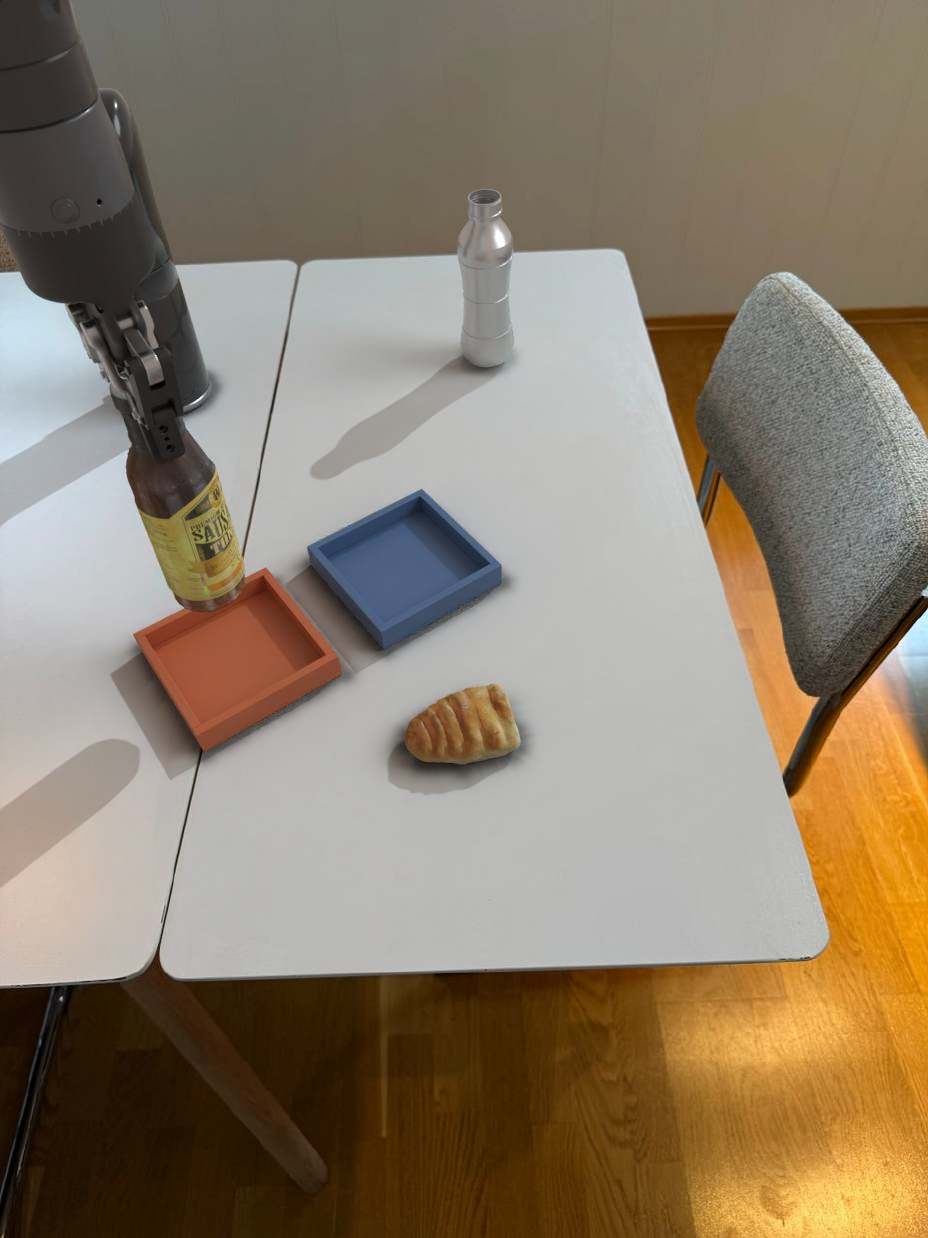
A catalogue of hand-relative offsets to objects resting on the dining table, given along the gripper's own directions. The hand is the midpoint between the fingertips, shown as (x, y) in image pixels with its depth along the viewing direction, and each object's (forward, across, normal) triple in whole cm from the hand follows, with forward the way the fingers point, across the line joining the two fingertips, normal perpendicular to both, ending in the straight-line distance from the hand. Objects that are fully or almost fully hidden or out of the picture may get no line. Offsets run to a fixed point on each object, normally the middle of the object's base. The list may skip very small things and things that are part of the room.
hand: (156, 439), depth 62 cm
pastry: (+26, -19, -12) cm, 34 cm away
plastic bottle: (+26, +24, -46) cm, 58 cm away
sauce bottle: (+15, 0, 0) cm, 15 cm away
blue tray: (+26, 0, -18) cm, 31 cm away
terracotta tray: (+26, 0, 0) cm, 26 cm away
